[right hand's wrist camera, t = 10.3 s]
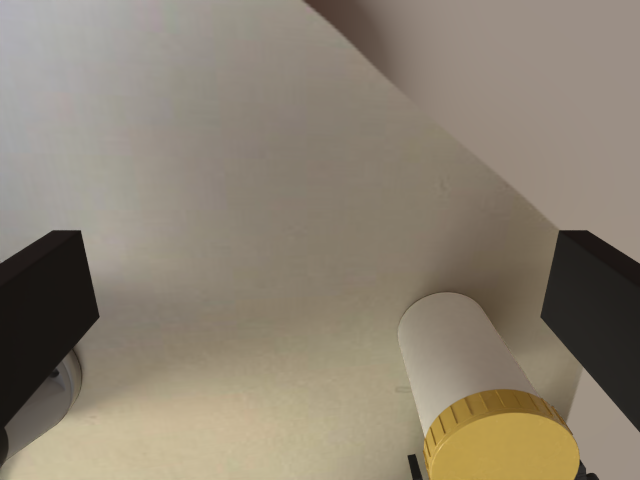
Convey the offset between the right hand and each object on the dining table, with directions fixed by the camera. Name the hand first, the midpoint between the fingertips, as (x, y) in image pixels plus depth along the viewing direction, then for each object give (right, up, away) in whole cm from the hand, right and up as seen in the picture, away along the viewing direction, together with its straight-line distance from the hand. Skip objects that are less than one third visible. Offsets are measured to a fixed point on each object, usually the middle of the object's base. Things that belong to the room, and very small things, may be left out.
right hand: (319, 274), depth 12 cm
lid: (+12, -14, +16) cm, 25 cm away
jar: (+12, -8, +31) cm, 34 cm away
